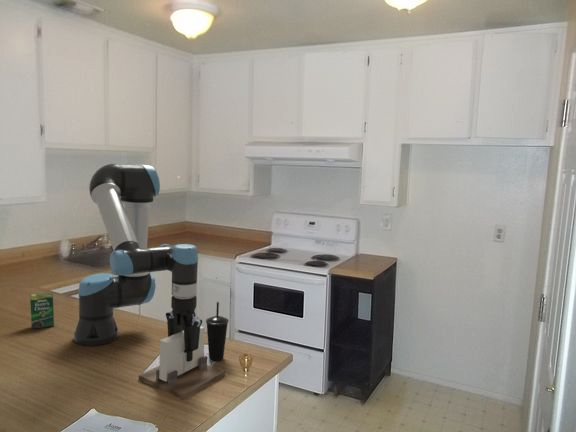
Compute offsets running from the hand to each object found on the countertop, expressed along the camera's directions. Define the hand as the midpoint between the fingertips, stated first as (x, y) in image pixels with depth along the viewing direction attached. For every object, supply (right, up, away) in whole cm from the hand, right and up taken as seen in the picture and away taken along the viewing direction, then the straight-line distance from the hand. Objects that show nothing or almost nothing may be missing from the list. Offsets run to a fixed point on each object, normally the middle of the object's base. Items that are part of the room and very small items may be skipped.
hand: (182, 368), depth 142 cm
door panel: (0, -1, 0) cm, 1 cm away
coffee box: (-63, +4, +35) cm, 72 cm away
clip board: (0, -3, 0) cm, 3 cm away
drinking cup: (+8, -2, +15) cm, 17 cm away
